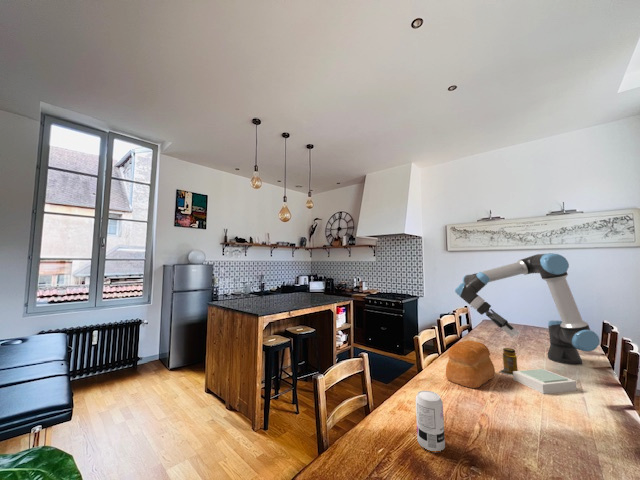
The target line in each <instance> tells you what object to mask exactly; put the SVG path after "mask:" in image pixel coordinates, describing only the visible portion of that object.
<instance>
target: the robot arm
mask: <svg viewBox="0 0 640 480" xmlns="http://www.w3.org/2000/svg"><path fill="white" fill-rule="evenodd" d="M569 268H570V264H569V261H568V260H567V259H566V257H565V256H563V255H561V254H559V253H551V252H549V253H538V254H534V255H530V256H528V257H525V258H522V259H518V260H517V261H516V262H513V263H510V264H506V265H502V266H499V267H495V268H492V269H487V270H483V271H479V272H475V273H472V274H465V275H464V276H463V277H462V283H460V284H458V285H457V286H456V288H455V289H454V292H455V293H456V294H457V295H458V296H459V298H461V299H463V301H464V302H466V303H467V304H468V305H469V306H470V308H472V309H474V310H476V312H477V313H479V314H480V315H481V316H482V315H484V314H485V316H487V318H488V319H490V320H491V321H492V322H493V323H494V324H495V325H496V326H497V327H498V328H500V329H501V330H503V331H504V332H505V333H506V334H508V335H509V336H510V337H511V338H513V337H514V336H515V337H518V336H519V335H520V334H521V332H520V331H519V330H518V329H517V328H515V327H514V326H513V325H512V324H510V323H509V322H508V319H505V318H504V317H503V316H501V315H500V314H498V313H497V312H495V311H494V310H493V309H492V308H491V307H492V305H491V304H490V303H488V302H487V301H485V299H483V297H481V296H480V295H479V294H478V293H479V292H480V291H481V290H482V289H483V288H484V287H486V286H487V285H488V284H489V283H492V282H496V281H499V280H503V279H504V280H505V279H507V278H512V277H515V276H518V275H524V276H526V275H530V274H540V278H541V279H542V280H544V281H546V285H547V286H548V287H547V288H548V289H549V291H550V294H551V297H552V299H553V301H554V304H555V307H556V309H557V312H558V313H559V317H560V320H549V321H548V324H547V325H548V334H549V345H550V346H549V349H548V352H547V359H549V360H550V361H553V362H557V363H560V364H565V365H574V366H576V365H577V366H578V365H582V364H583V359H582V357H581V355H580V353H579V351H582V352H592V351H595V350H596V349H597V348H598V346H599V345H600V337H599V335H598V334H597V333H596V332H594V331H593V330H591V328H590V325H589V323H588V322H587V321H585V320H583V318H582V316H581V313H580V310H579V308H578V305H577V303H576V301H575V300H576V299H575V298H574V296H573V294H572V291H571V288H570V286H569V284H568V281H567V277H568V276H569V273H568V272H567V271H568V269H569ZM578 350H579V351H578Z"/></svg>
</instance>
